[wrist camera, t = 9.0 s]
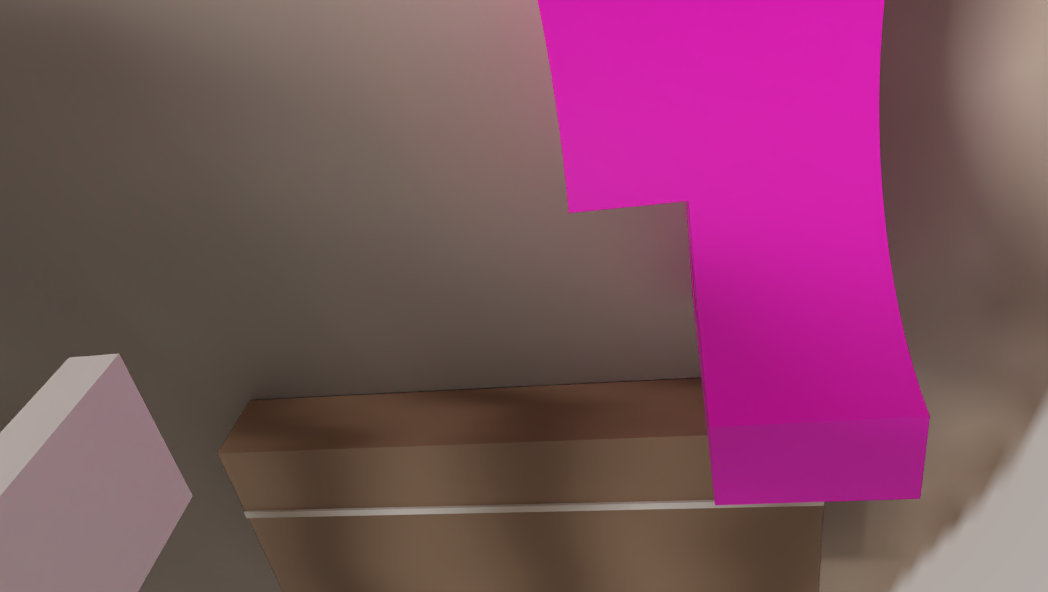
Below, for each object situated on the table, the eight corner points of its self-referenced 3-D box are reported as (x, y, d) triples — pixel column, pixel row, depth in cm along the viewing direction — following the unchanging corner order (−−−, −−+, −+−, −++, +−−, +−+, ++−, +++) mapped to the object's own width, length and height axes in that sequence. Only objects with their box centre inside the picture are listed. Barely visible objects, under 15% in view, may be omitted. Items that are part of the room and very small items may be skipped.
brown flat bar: (313, 550, 30) (289, 609, 28) (249, 400, 26) (216, 455, 24) (804, 543, 27) (818, 609, 24) (810, 372, 23) (828, 433, 21)
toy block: (502, -380, 15) (406, -485, 9) (864, -468, 14) (1054, -661, 8) (600, 305, 23) (587, 509, 16) (837, 286, 22) (920, 498, 15)
